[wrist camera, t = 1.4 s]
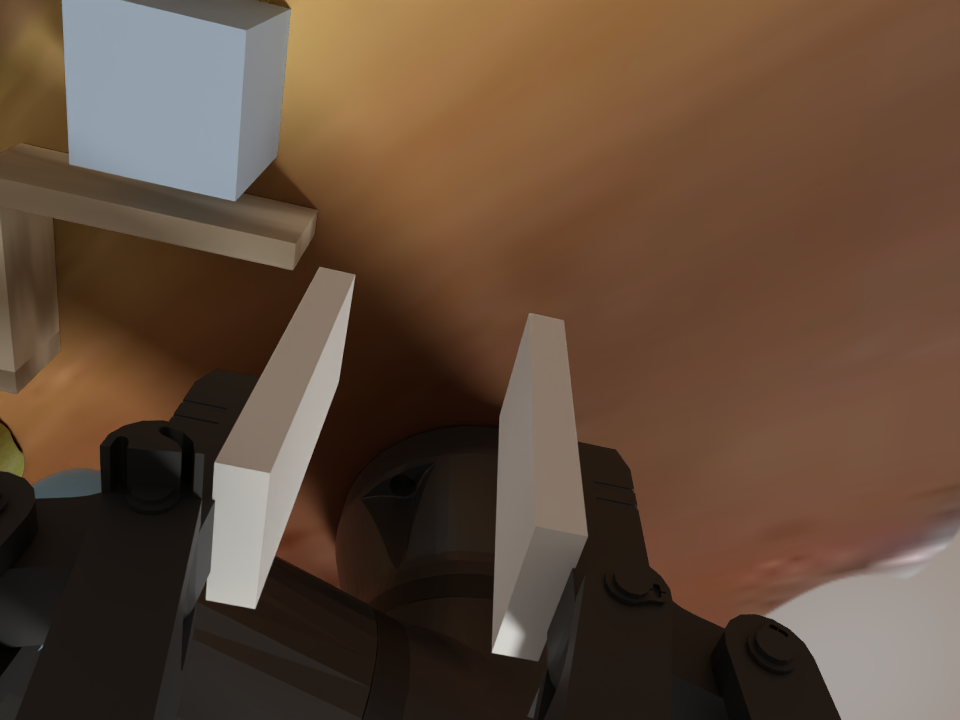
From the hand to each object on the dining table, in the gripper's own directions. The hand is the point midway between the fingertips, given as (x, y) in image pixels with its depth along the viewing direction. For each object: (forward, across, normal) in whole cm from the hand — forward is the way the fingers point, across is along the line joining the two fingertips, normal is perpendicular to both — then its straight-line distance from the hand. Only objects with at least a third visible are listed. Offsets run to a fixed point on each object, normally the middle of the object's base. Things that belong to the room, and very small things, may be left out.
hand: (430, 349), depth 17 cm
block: (+19, +11, 0) cm, 22 cm away
